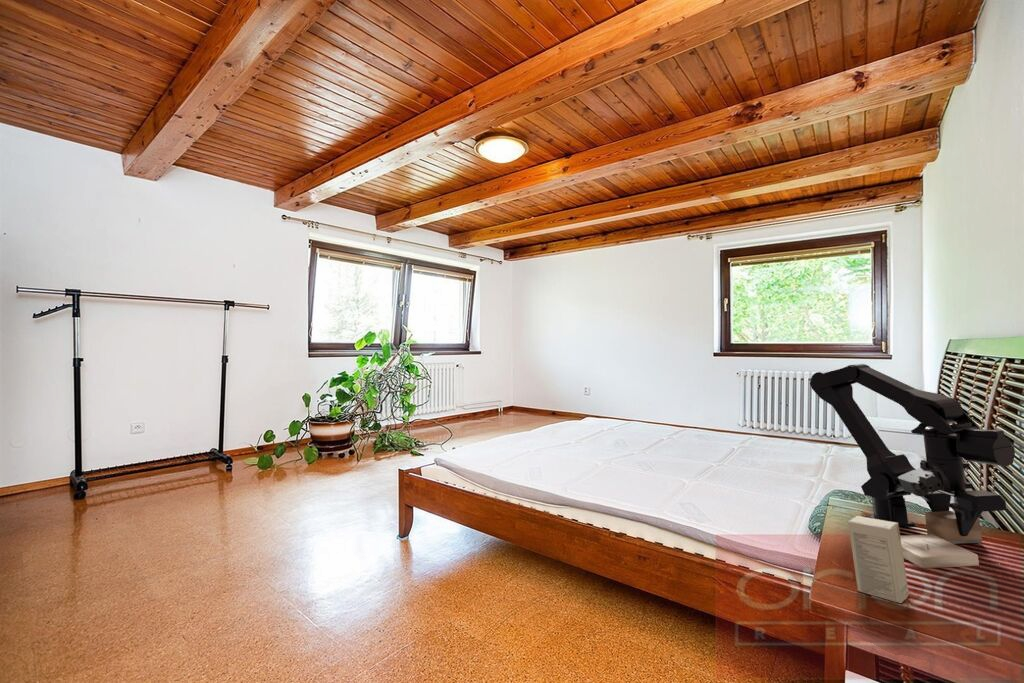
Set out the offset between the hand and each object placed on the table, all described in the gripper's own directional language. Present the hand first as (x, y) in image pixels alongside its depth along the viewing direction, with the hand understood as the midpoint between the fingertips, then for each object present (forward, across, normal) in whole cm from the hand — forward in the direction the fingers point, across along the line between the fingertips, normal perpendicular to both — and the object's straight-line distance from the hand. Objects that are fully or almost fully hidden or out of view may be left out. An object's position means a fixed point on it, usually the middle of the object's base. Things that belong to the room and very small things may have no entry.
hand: (953, 531), depth 95 cm
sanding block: (+2, 0, 0) cm, 2 cm away
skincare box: (+2, +19, -28) cm, 34 cm away
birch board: (+2, +6, -10) cm, 12 cm away
